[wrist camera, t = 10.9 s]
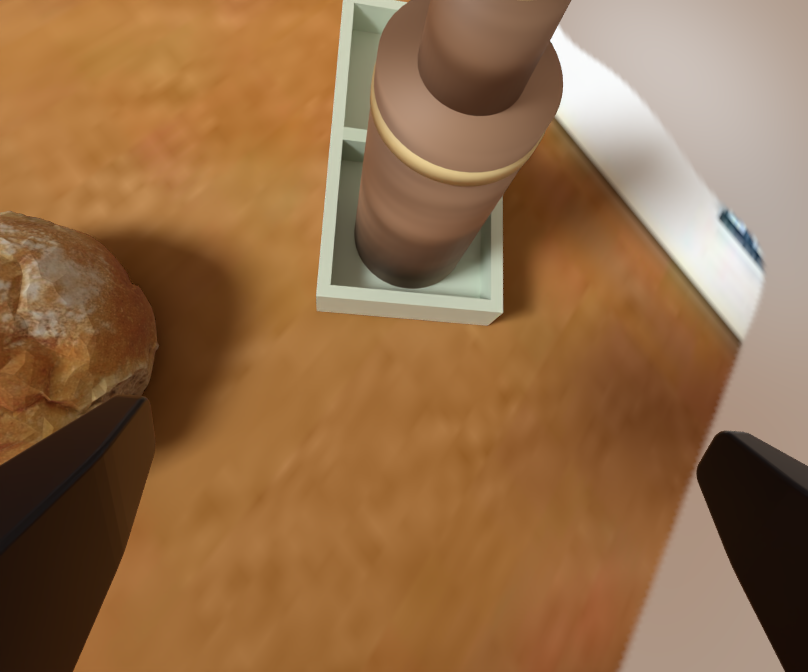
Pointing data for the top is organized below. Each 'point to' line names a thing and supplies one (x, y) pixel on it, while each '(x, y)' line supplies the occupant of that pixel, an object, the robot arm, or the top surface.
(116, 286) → the bread roll
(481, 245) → the caddy
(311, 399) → the top surface
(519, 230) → the top surface
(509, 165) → the pepper mill
